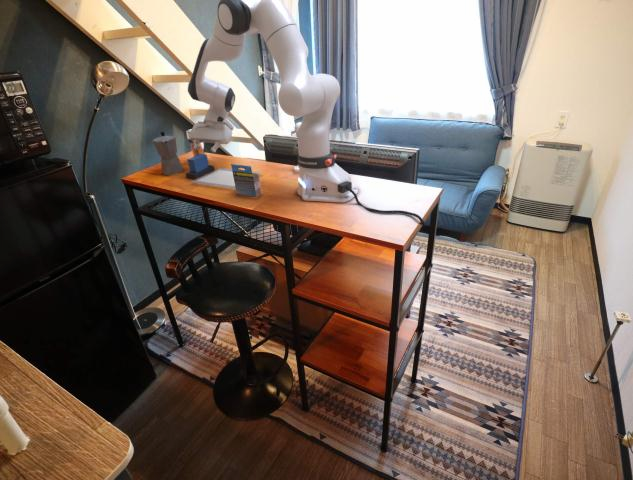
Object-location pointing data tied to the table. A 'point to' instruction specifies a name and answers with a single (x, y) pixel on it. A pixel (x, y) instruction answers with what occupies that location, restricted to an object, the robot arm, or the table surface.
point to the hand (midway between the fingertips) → (204, 150)
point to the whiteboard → (219, 178)
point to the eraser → (198, 166)
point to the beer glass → (191, 144)
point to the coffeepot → (168, 154)
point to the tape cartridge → (246, 181)
